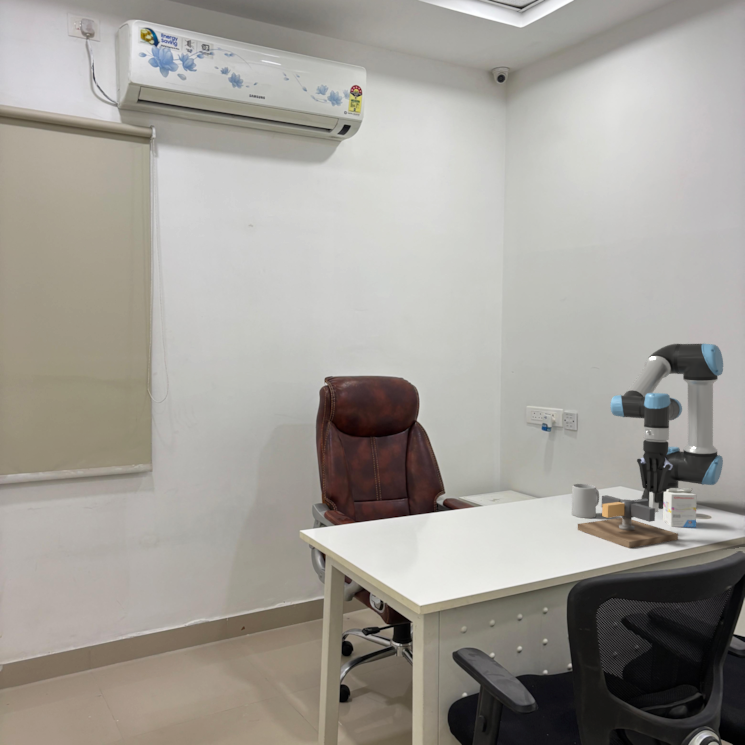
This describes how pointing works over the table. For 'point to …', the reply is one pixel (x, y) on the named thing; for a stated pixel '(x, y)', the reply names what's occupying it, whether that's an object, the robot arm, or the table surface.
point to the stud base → (627, 532)
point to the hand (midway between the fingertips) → (653, 511)
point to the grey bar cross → (627, 508)
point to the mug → (584, 500)
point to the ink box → (679, 507)
